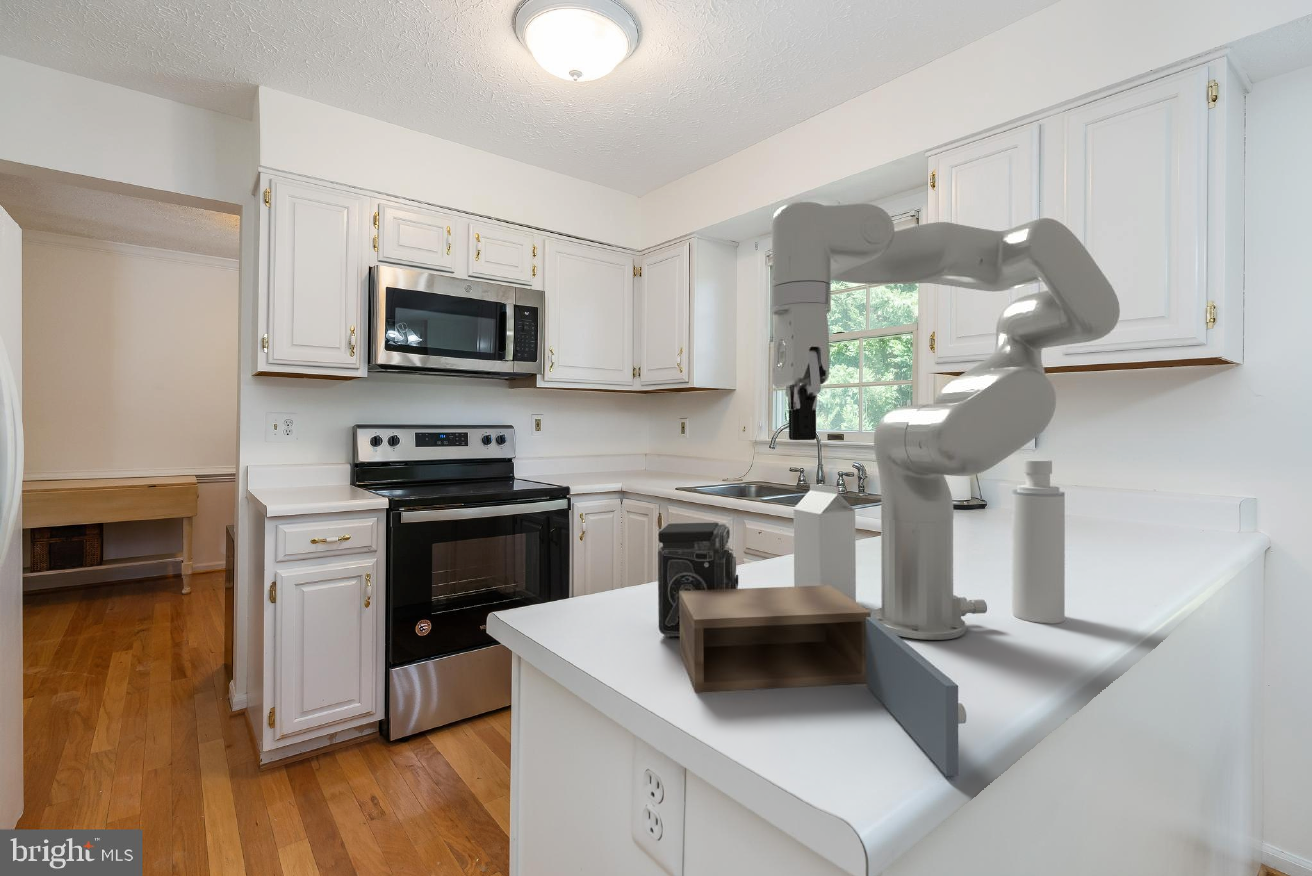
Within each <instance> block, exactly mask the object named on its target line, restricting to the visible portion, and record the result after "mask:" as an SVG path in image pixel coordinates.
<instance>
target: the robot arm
mask: <svg viewBox="0 0 1312 876" xmlns="http://www.w3.org/2000/svg"><path fill="white" fill-rule="evenodd" d="M771 221H772V222H771V244H772V245H771V251H772V254H771V255H772V256H771V259H772V265H771V267H772V269H771V270H772V271H771V273H772V274H771V278H772V314H773V315H774V316H776V320H775V327H774V337H773V338H774V339H773V354H772V355H773V356H772V357H773V358H772V359H773V360H772V384H773V386H774V387H775V388H777V389H778V388H779V389H780V388H785V397H787V408H788V439H789V440H790V441H814V440H816V439H817V408H818V407H817V404H818V395H819V394H820V393H821V391H822V390H821V389H822V388H821V385H823V384H825V383H826V382H827V381H828V379H829V377H830V363H831V362H830V361H831V360H830V355H831V354H830V338H829V337H830V336H829V335H830V334H829V323H828V322H829V320H828V313H830V312H831V311H832V303H831V301H832V299H831V297H832V295H831V292H832V291H831V288H832V286H831V284H832V282H831V281H836V282H842V283H850V284H865V285H867V284H870V285H871V284H872V285H875V284H876V285H877V284H878V285H879V284H880V285H883V284H886V285H887V284H889V285H891V284H893V285H894V284H895V285H898V284H899V285H900V284H901V285H913V284H914V285H915V284H934V285H939V286H940V285H941V286H950V287H955V288H964V289H968V290H975V291H976V290H977V291H983V292H1004V291H1009V290H1014V289H1017V288H1021V287H1026V286H1030V285H1033V284H1038V283H1041V282H1042V283H1044V285H1045V287H1046V288H1047V290H1043V291H1038V292H1035V293H1031V294H1028V295H1024V296H1022V297H1019V298H1017V299H1015V300H1013V301H1012V302H1011V303H1009V304H1007V306H1006V307H1004V308H1003V310H1002V311H1001V312H1000V314H999V317H998V319H997V322H996V328H995V330H996V331H995V349H994V352H993V353H992V354H991V355H990V356H989V357H988V358H986V359H985V360H983V361H982V362H980V363H979V364H977V365H975V366H973V367H971V368H970V369H969V370H967V371H966V372H965V371H964V373H962V374H961V375H958V376H957V377H955V378H954V379H952V380H950V381H949V382H948V383H947V384H945V385H944V386H943V387H942V388H941V389H940V391H939V392H938V394H937V395H936V397H935V400H934V403H923V404H909V405H903V406H900V407H896V408H893V409H891V410H890V411H888V412H887V413H886V414H884V416H882V417H881V419H880V420H879V422H878V423H877V424H876V426H875V430H874V434H873V448H874V454H875V456H874V457H875V460H876V466H877V469H878V476H879V483H880V502H881V503H880V504H881V507H880V510H881V511H880V514H881V515H880V532H881V533H880V540H881V541H880V543H881V546H880V549H881V550H880V551H881V552H880V556H881V557H880V560H881V561H880V563H881V564H880V565H881V572H880V573H881V576H880V579H881V581H880V583H881V584H880V585H881V586H880V587H881V588H880V590H881V591H880V592H881V595H880V597H881V602H880V603H881V605H880V606H881V607H879V608H877V609H874V610H873V611H871V612H870V614H871V617H875V618H877V619H878V620H879V621H880V622H881V623H883V624H884V625H885V626H886V627H888V628H889V629H890V630H891V631H892V632H894V633H895V634H896V635H897V636H899V637H900V638H901V637H902V638H908V639H914V640H923V641H924V640H925V641H927V640H928V641H942V640H943V641H944V640H950V639H955V638H959V637H961V636H963V635H964V634H965V633H966V631H967V630H966V629H967V623H966V622H965V620H964V619H962V617H966V615H967V614H971V615H974V614H975V615H977V614H986V613H987V611H988V605H987V602H986V601H985V600H984V599H969V600H968V599H967V598H966V596H963V597H961V596H957V595H955V594H954V503H953V502H954V501H953V497H952V493H951V489H950V486H949V484H948V481H947V480H946V476H953V477H970V476H976V475H978V474H982V473H984V472H986V471H988V470H990V469H991V468H993V467H995V466H996V465H998V464H999V463H1001V462H1002V461H1003V460H1005V459H1007V458H1008V457H1010V456H1012V455H1013V454H1014V453H1015V452H1017V451H1019V450H1020V449H1021V448H1023V447H1024V446H1026V445H1027V444H1029V443H1030V442H1032V441H1034V439H1036V438H1037V437H1038V436H1040V435H1041V433H1043V432H1044V431H1045V430H1046V429H1047V427H1048V426H1049V424H1050V422H1051V420H1052V419H1053V416H1054V413H1055V411H1056V408H1057V407H1056V406H1057V395H1056V394H1057V393H1056V391H1055V387H1054V385H1053V384H1052V382H1051V380H1050V379H1049V377H1048V376H1046V372H1045V371H1046V370H1045V367H1044V365H1043V362H1042V350H1043V349H1045V348H1046V349H1047V348H1054V347H1059V346H1060V347H1061V346H1067V345H1074V344H1082V343H1089V342H1093V341H1097V340H1100V339H1103V338H1104V337H1105V336H1107V335H1109V334H1110V333H1111V332H1112V331H1113V330H1115V327H1116V326H1117V324H1118V322H1119V318H1120V313H1121V309H1120V302H1119V298H1118V296H1117V293H1116V291H1115V290H1114V288H1113V285H1112V284H1111V283H1110V281H1109V280H1108V278H1107V277H1106V276H1105V274H1104V273H1103V272H1102V270H1101V268H1100V267H1099V265H1098V264H1097V263H1096V261H1095V260H1094V259H1093V257H1092V256H1091V254H1090V252H1089V251H1088V249H1087V248H1086V247H1085V246H1084V244H1083V243H1082V242H1081V240H1080V239H1079V238H1078V237H1077V236H1076V235H1075V234H1074V233H1073V232H1072V231H1071V230H1070V229H1069V228H1068V227H1067V226H1066V225H1064V224H1063V223H1062V222H1060V221H1058V220H1056V219H1054V218H1049V217H1043V218H1037V219H1035V220H1032V221H1029V222H1026V223H1023V224H1020V225H1017V226H1015V227H1013V228H1008V229H1006V230H992V229H986V228H981V227H975V226H970V225H969V226H968V225H965V224H959V223H953V222H950V221H949V222H948V221H936V222H929V223H924V224H919V225H916V226H915V225H914V226H911V227H908V228H903V229H899V230H895V223H894V221H893V219H892V217H891V216H890V214H889V213H888V212H887V211H886V210H885V209H883V208H881V207H879V206H878V205H875V204H872V203H871V204H870V203H851V204H839V205H823V204H821V203H818V202H813V201H801V202H800V201H798V202H793V203H789V204H786V205H784V206H782V207H780V208H779V209H777V210H776V211H775V213H774V214H773V217H772V220H771Z"/></svg>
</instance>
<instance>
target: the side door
mask: <svg viewBox="0 0 1312 876" xmlns="http://www.w3.org/2000/svg"><path fill="white" fill-rule="evenodd" d="M865 684H866V685H867V687H868V688H869V689H870V690H871V691H872V692H873V694H874V695H875V697H877V698H878V699H879V701H880V702H881V703H882V704H883V705H884V706H885V707H886V709H887V710H888V711H889V712H890V713H891V715H893V716H894V718H895V719H896V720H897V721H898V722H899V723H900V725H901V726H902V727H903V728H904V729H905V731H906V732H907V733H908V734H909V735H910V736H911V737H912V738H913V740H914V741H915V742H916V743H917V744H918V745H919V746H920V748H921V749H922V750H923V752H924V753H926V754H927V756H928V757H929V758H930V760H932V761H933V763H934V764H935V765H936V766H937V767H938V768H939V770H940V771H941V772H942V773H943V774H944V775H945V777H956V776H957V777H958V776H959V724H965V723H966V722H967V711H966V709H965V706H964V705H963V703H961V702H959V685H958V684H957V683H956V682H954V680H952V679H951V678H950V677H949V676H947V675H946V674H945V673H944V672H943V671H941V670H940V669H939V668H937V667H936V666H935V665H934V664H932V663H931V662H930V661H929V660H928V659H927V658H926V657H924V656H923V655H922V654H921V653H920V652H918V651H917V650H916V649H914V648H913V647H912V646H911V645H909V643H907V642H906V641H905V640H903V639H902V638H901V636H897V635H896V634H895V633H894V632H892V631H891V630H890V629H889V628H888V627H886V626H885V625H884V624H883V623H881V622H880V621H879V620H878V619H877V618H875V617H866V683H865Z"/></svg>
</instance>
